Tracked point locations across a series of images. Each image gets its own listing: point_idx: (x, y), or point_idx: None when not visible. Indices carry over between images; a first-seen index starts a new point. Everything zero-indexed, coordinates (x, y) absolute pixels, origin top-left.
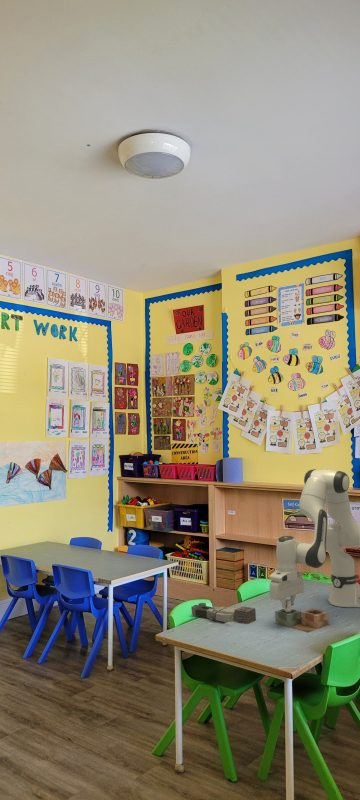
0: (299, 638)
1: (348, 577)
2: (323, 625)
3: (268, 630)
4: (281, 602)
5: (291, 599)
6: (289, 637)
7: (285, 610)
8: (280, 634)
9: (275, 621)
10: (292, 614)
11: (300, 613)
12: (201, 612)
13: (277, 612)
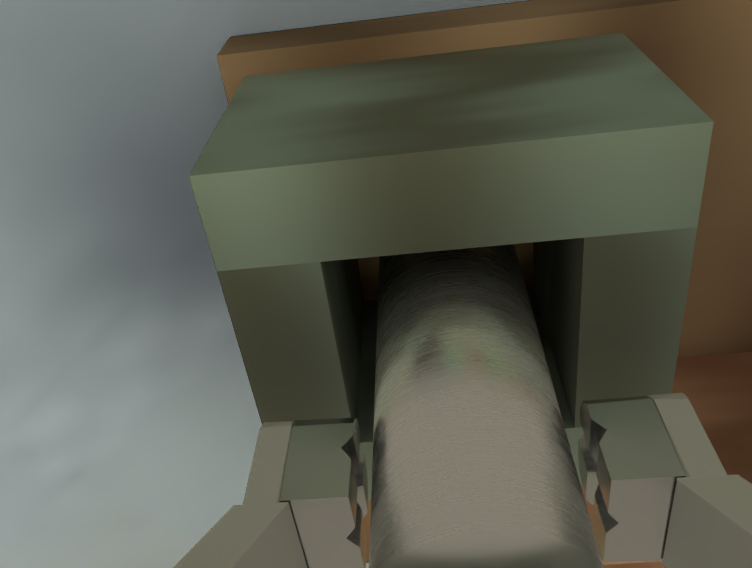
0: (213, 520)
1: None
2: None
3: (25, 130)
4: (214, 537)
5: (710, 553)
6: (134, 457)
7: (377, 366)
8: (97, 345)
9: (240, 88)
10: (369, 494)
11: None
12: None
13: (212, 240)
